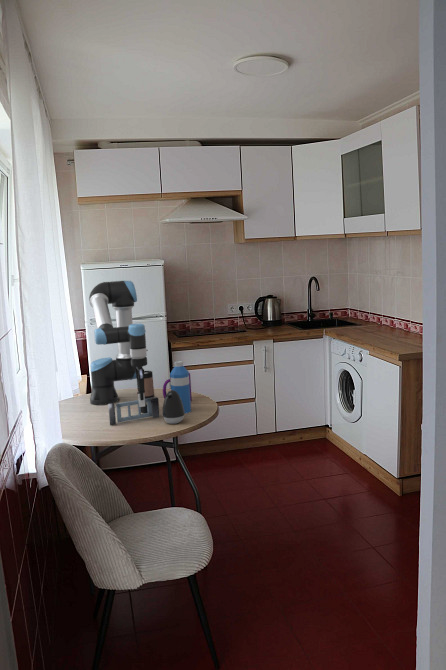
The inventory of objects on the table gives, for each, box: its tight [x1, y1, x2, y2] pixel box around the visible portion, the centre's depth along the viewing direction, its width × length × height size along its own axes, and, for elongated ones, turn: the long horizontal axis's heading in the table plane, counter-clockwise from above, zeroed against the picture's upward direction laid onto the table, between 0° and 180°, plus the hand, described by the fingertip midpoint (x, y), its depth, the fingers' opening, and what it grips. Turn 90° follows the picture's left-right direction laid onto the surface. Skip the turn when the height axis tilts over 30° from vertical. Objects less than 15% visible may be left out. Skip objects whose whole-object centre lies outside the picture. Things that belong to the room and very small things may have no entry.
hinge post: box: [107, 403, 117, 426], centre depth 263 cm, size 3×3×10 cm
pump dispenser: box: [162, 389, 185, 425], centre depth 261 cm, size 10×10×15 cm
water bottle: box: [169, 360, 192, 415], centre depth 278 cm, size 9×9×25 cm
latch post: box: [146, 396, 160, 419], centre depth 272 cm, size 4×5×10 cm, turn 116°
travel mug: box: [141, 370, 155, 414], centre depth 282 cm, size 8×8×20 cm
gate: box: [115, 398, 153, 423], centre depth 267 cm, size 2×17×9 cm, turn 117°
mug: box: [162, 372, 193, 402], centre depth 297 cm, size 9×16×15 cm, turn 118°
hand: (142, 406), depth 267 cm, fingers closed
